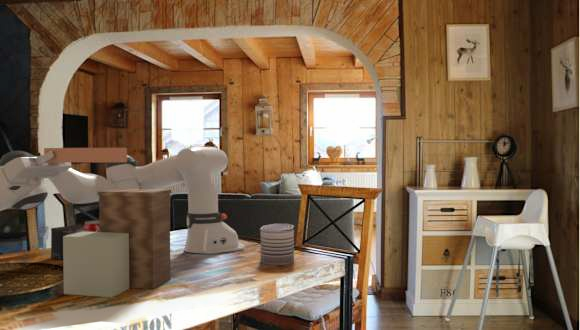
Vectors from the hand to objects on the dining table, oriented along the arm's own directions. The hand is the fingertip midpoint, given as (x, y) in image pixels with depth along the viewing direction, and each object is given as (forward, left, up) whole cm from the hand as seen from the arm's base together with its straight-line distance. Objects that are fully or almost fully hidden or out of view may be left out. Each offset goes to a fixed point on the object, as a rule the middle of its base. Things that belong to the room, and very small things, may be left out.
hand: (59, 153), depth 136 cm
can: (-66, +2, -37) cm, 76 cm away
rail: (-6, +5, -2) cm, 9 cm away
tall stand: (-19, +11, -36) cm, 43 cm away
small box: (-2, -36, -37) cm, 51 cm away
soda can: (-10, -27, -37) cm, 46 cm away
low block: (-9, +16, -36) cm, 41 cm away
